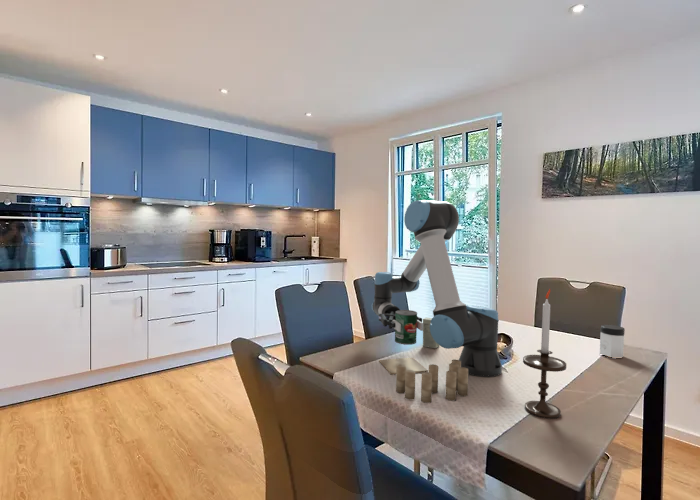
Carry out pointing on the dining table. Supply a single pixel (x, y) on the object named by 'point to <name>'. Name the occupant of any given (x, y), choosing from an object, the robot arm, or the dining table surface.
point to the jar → (612, 340)
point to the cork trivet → (408, 362)
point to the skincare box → (428, 334)
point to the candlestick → (544, 370)
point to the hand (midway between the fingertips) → (411, 327)
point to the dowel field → (433, 382)
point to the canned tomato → (406, 327)
